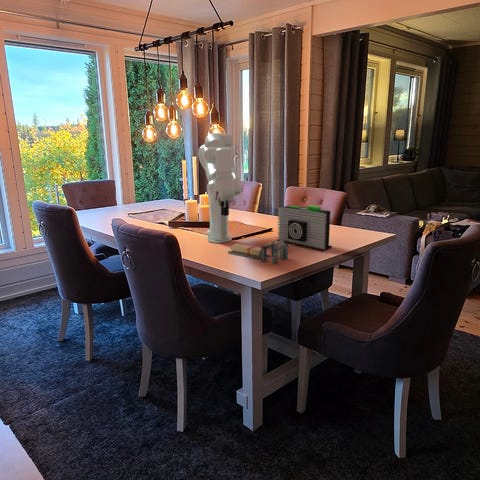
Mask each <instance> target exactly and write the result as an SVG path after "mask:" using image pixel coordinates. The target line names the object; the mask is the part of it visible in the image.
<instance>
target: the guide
mask: <svg viewBox="0 0 480 480" xmlns="http://www.w3.org/2000/svg"><path fill="white" fill-rule="evenodd" d="M227 253H228V254H229V255H233V256H234V255H235V256H240V257H243V258H244V257H246V258H249V259H254V260H259V261H261V257H256V256H251V255H246V254H242V253H237V252H232V251H230V250H227ZM267 258H271V254H269V253H268V254H267Z"/></svg>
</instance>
